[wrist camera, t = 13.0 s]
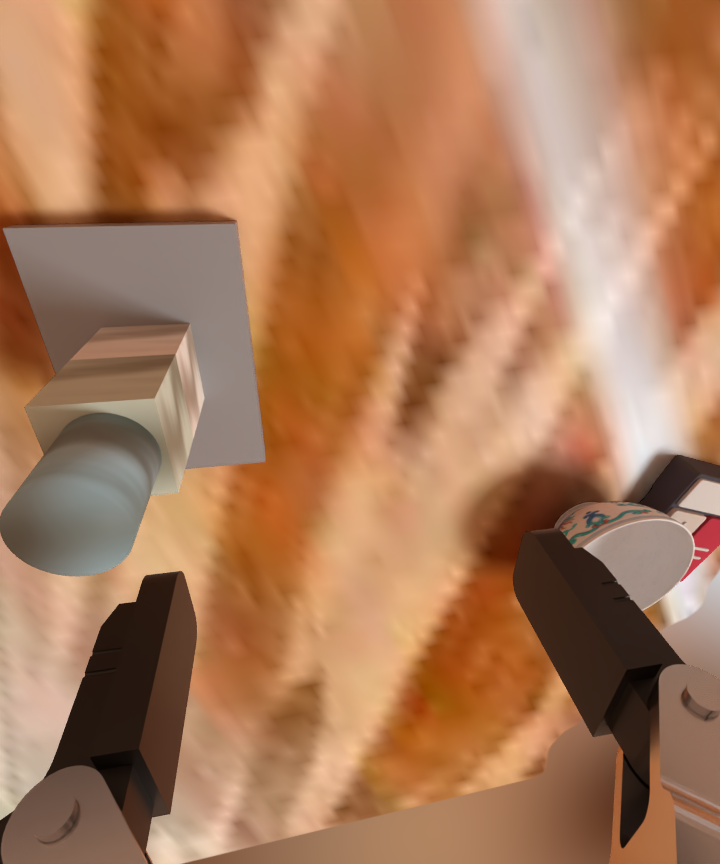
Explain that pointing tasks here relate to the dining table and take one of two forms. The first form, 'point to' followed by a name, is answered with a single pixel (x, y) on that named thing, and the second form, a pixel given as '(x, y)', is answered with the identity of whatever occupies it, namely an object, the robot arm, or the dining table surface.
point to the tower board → (153, 309)
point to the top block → (121, 405)
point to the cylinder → (84, 497)
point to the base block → (153, 343)
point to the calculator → (690, 502)
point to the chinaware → (632, 545)
